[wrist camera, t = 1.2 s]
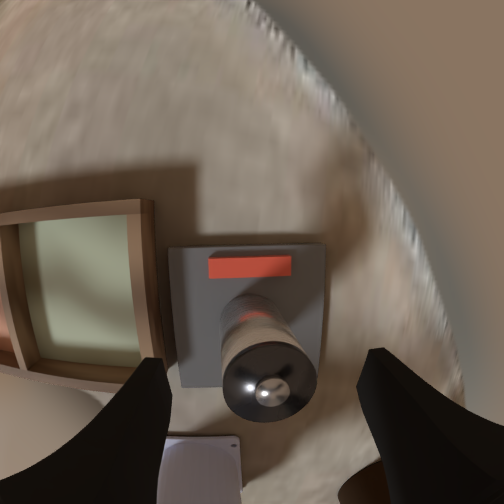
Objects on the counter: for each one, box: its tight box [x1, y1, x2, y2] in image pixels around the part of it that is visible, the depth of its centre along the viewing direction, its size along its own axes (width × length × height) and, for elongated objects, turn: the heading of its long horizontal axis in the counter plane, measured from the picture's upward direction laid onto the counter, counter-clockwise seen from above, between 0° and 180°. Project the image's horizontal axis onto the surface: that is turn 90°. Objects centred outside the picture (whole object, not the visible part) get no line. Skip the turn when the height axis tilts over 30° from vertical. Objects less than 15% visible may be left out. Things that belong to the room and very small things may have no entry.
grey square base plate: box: [168, 243, 326, 388], centre depth 19 cm, size 10×10×2 cm
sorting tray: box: [0, 199, 168, 393], centre depth 16 cm, size 12×22×4 cm, turn 90°
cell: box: [219, 294, 317, 423], centre depth 15 cm, size 4×4×8 cm
